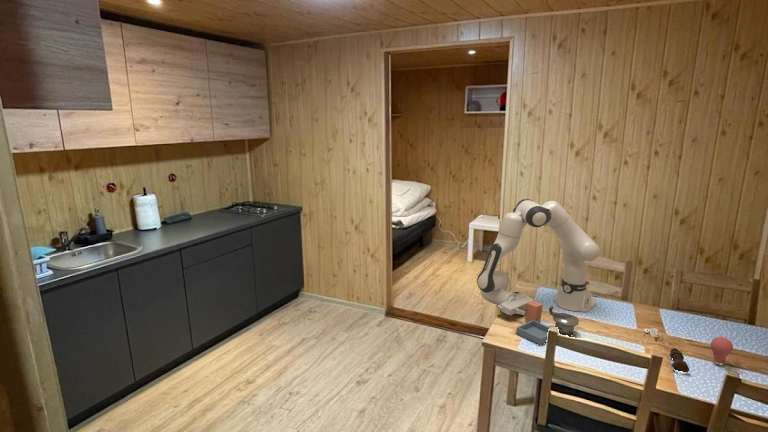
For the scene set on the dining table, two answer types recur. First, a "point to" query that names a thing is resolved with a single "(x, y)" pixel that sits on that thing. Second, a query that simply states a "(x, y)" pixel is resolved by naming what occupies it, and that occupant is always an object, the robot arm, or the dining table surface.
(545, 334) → the tray
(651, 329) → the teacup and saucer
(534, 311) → the block
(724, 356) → the light bulb
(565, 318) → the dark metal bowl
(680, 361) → the brown shoe
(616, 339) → the dining table surface
